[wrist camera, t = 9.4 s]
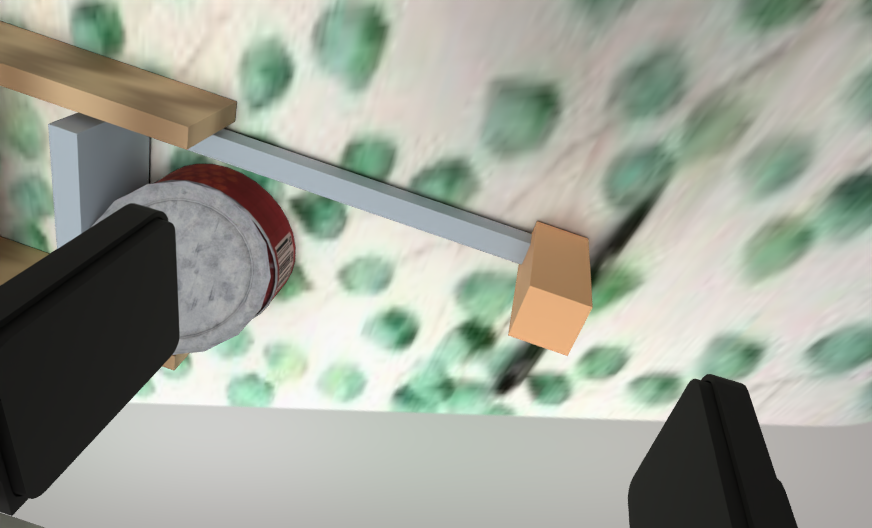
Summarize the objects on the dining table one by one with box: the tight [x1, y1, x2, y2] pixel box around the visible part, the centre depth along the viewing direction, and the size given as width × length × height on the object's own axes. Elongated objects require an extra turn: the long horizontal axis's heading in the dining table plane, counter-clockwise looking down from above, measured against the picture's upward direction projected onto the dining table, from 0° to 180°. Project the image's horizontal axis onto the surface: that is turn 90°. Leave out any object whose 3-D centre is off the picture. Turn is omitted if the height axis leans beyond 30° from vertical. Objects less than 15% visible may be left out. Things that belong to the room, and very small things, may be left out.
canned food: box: [90, 164, 295, 355], centre depth 36 cm, size 11×10×10 cm
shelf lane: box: [0, 21, 237, 370], centre depth 33 cm, size 19×16×12 cm
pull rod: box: [48, 113, 592, 356], centre depth 34 cm, size 28×14×7 cm, turn 75°
